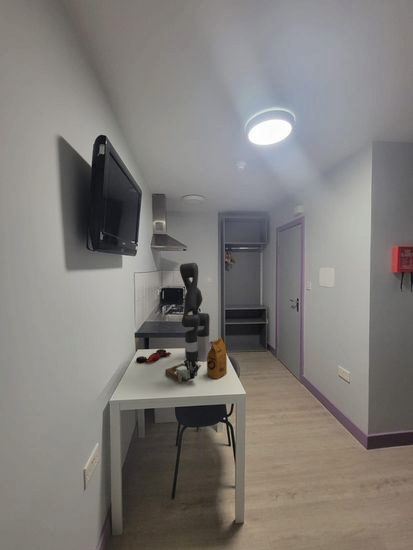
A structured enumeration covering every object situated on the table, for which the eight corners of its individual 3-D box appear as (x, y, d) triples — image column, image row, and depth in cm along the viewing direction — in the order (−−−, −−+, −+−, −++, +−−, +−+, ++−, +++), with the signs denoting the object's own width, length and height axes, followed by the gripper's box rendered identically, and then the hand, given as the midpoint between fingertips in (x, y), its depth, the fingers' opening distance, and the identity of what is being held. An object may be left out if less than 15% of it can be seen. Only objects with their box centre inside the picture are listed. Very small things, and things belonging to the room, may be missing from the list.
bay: (182, 368, 154) (182, 360, 154) (198, 375, 144) (197, 367, 143) (165, 375, 145) (164, 367, 145) (179, 383, 134) (179, 375, 134)
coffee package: (204, 376, 143) (203, 340, 142) (216, 368, 152) (215, 335, 152) (217, 380, 136) (216, 343, 136) (229, 372, 146) (228, 338, 145)
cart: (193, 377, 140) (193, 369, 140) (184, 382, 136) (184, 373, 135) (184, 373, 147) (183, 365, 147) (175, 377, 142) (175, 368, 142)
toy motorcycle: (134, 364, 166) (147, 366, 156) (133, 356, 167) (146, 358, 157) (162, 354, 185) (175, 355, 175) (161, 348, 186) (174, 348, 176)
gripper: (204, 349, 134) (204, 379, 134) (189, 345, 143) (189, 373, 144) (194, 353, 129) (195, 384, 129) (179, 348, 138) (180, 377, 138)
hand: (192, 378), depth 136 cm, fingers closed
